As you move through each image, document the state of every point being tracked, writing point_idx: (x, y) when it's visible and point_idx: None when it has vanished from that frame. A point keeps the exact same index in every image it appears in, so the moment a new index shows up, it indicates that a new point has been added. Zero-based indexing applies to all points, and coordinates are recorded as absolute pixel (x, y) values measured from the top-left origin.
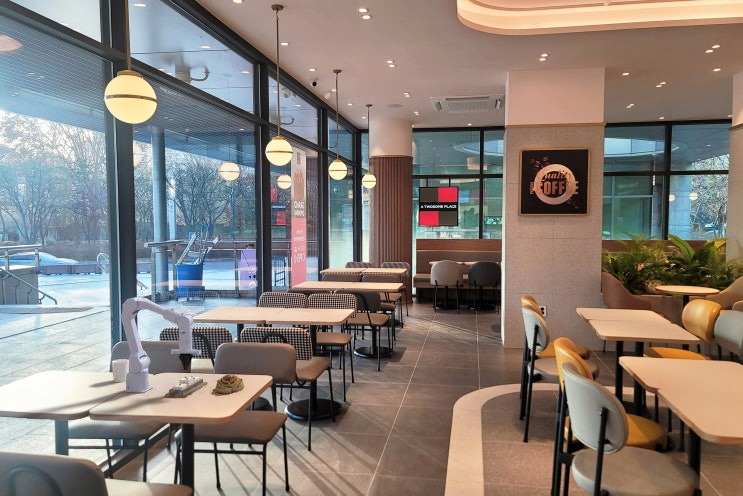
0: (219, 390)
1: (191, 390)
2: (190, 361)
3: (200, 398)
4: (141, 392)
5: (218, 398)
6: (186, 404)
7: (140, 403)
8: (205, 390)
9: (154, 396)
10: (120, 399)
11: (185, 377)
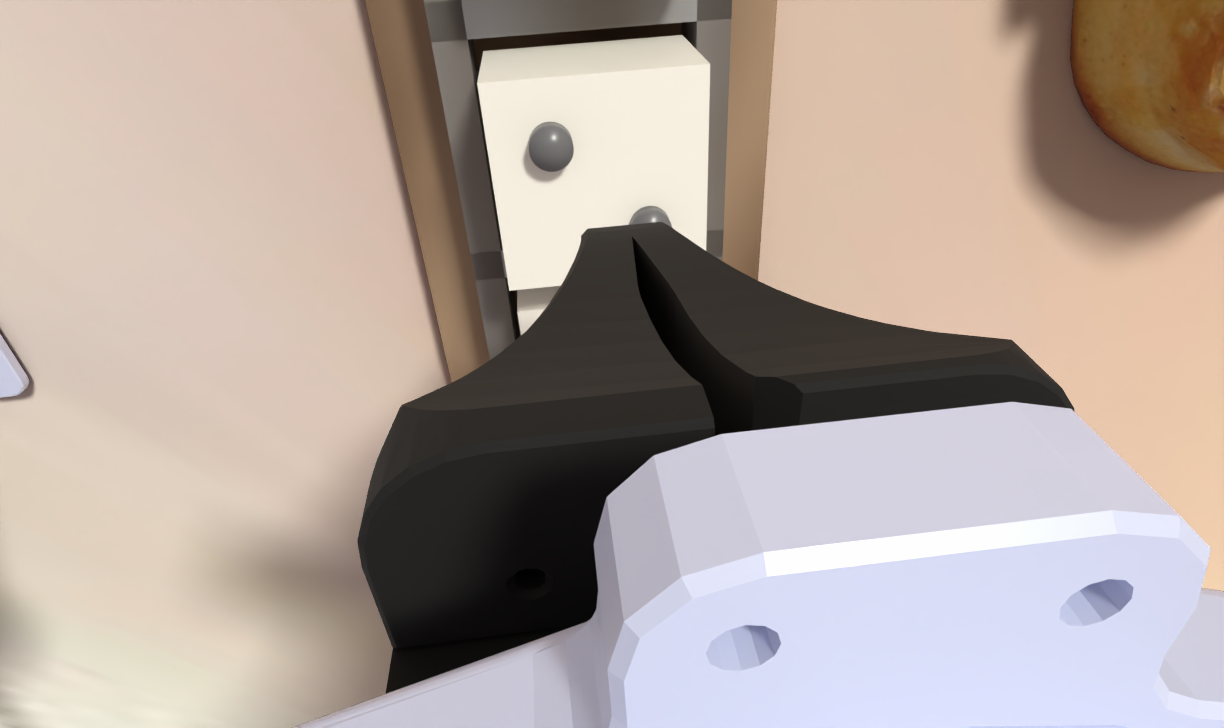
0: (1188, 163)
1: (732, 218)
2: (775, 295)
3: None
4: (7, 393)
5: (1155, 323)
6: None
7: (380, 616)
8: (899, 47)
9: (327, 442)
10: (40, 595)
11: (561, 169)
